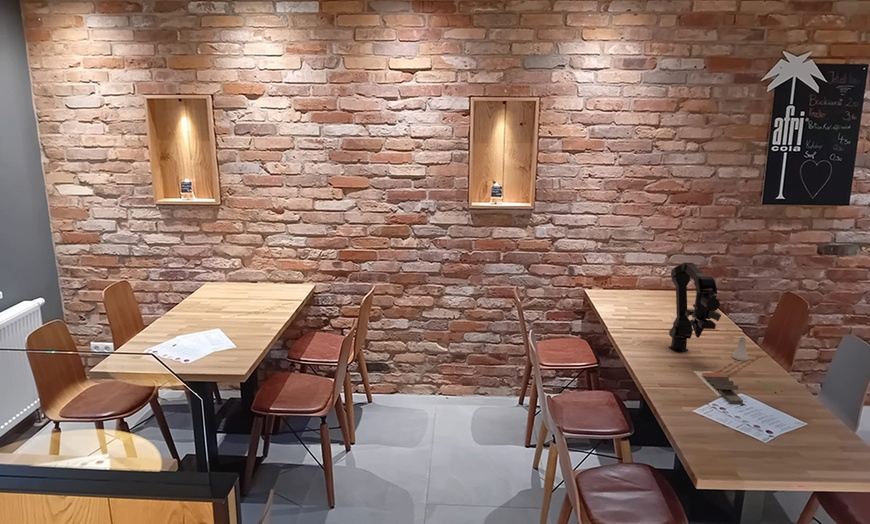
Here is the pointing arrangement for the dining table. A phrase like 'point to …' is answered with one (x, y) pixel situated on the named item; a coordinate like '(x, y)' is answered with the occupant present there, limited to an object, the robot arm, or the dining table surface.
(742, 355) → the flask
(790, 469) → the dining table surface
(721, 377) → the domino
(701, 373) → the strip
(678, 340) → the robot arm
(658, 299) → the dining table surface
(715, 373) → the domino
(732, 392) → the domino
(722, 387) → the domino
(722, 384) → the domino
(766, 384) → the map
